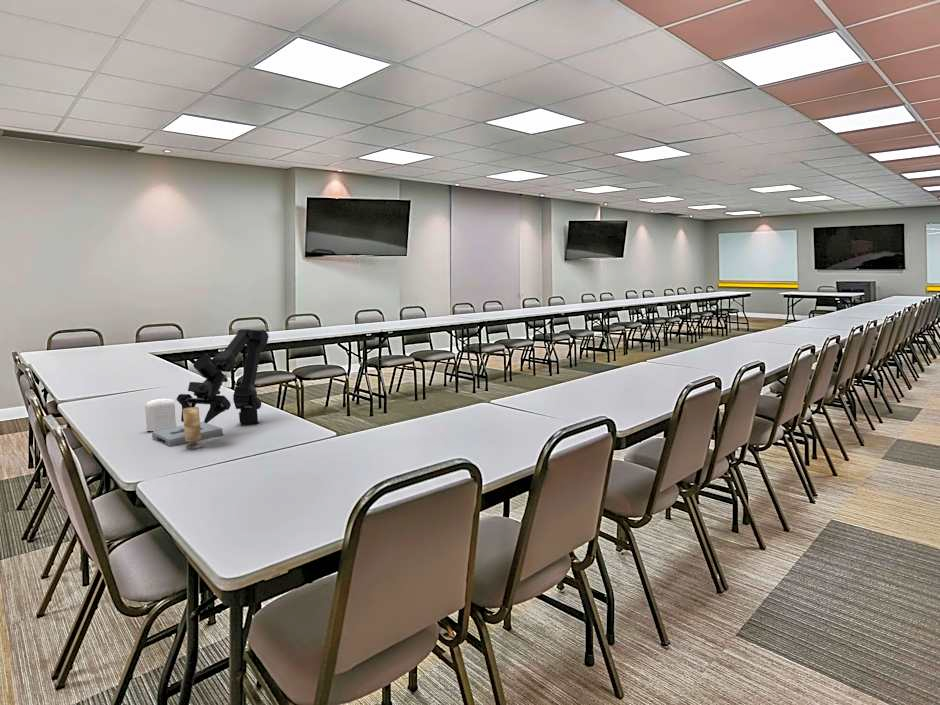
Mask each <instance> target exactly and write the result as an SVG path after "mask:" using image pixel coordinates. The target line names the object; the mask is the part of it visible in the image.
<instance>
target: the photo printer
mask: <svg viewBox="0 0 940 705" xmlns="http://www.w3.org/2000/svg"><path fill="white" fill-rule="evenodd" d="M144 407H145V409H144V410H145V421H146V422H145V423H146V431H153V432H154V431H159V430H164V429H169V428H174V427H177V419H176V418H177V417H176V406H175V402H174V400H173V399H171V398H157V399H152V400H149V401H147V402H146V403H145V406H144Z"/></svg>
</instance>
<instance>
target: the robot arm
mask: <svg viewBox="0 0 940 705" xmlns="http://www.w3.org/2000/svg"><path fill="white" fill-rule="evenodd" d="M269 337H270V336H269V333H268V332H267V330H265V329H249V328H248V329H247V328H241V329H238V330H237V334H236V335H235V336H234V338H233V339H232V340H231V342H229V344H228V345H227V346H226V348H225V349H223V351H221V352H218V353H216V355H215V356H213V358H212V357H211V356H210V355H209V354H202V356H200V357H198V358H197V359H196V360H194V361H193V368H194V369H195V370H196V371H197V373H198V374H200V376H201V377H202V378H203V379H205V380H203V382H199V381H189V384H188V388H187V391H188V392H191V393H193V395H194V396H195V397H193V396H192V395H191V394H189V393H179V394H178V396H177V397H176V399H175V400H176V401H177V402H178V403H179V404H180V405H181V416H180V417H181V420H180V421H181V422H182V423H184V419H183V409H184V408H189V407H196V406H197V404H198V405H209V409H208V410H207V414H206V415H205V417H204V421H203V422H204V423H208V424H209V422H210V421H212V420H213V419H214V418H215V417H217V416H218V415H220V414H221V413H224V412H226V411H229V410H230V409H231V408H230V407H231V402H230V400H228V398H227V397H226V396H225V395H221V391H220V389H221V387H222V384H223V383H228V382H229V380H228V378H227V374H224V373H230V372H232V371H233V369H234V367H235V365H236V364H237V360H236V359H237V357H238V356H239V354H240V353H241V352H242V351H243V349H244V348H245V346H246V348H247V354H246V358H245V359H246V360H245V362H244V363H245V364H244V368H243V373H242V379H241V383H240V384H239V385H236V386H235V387H234V392H233V395H232V396H233V398H232V401H233V404H234V407H235V409H236V410H240V411H238V417H239V418H238V419H239V420H238V422H239V424H241V426H247V425H248V426H249V425H258V424H259V418H258V410H260V408H261V407H262V401H261V400H260V399H259V397H258V392H257V388H256V386H255V384H256V383H255V382H256V378H257V373H258V369H259V362H260V358H261V354H262V353H261V352H262V351H263V350H264V349H265V348H266V346H267V345H268V344H267V343H268V340H269Z"/></svg>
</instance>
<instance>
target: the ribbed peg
mask: <svg viewBox="0 0 940 705" xmlns="http://www.w3.org/2000/svg"><path fill="white" fill-rule="evenodd" d="M183 419H184V422H183V426H184V431H185V441H190V442H189V443H187V444H186V445H185V450H187V449H195V450H199V449H201V448H202V443H201V442H198V441H201V440H200V439H201V432H200V422H201V420H200V410H199V407H197V406H195V407H189V408H184V409H183ZM197 440H198V441H197ZM198 448H199V449H198Z"/></svg>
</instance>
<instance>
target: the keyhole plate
mask: <svg viewBox="0 0 940 705" xmlns="http://www.w3.org/2000/svg"><path fill="white" fill-rule="evenodd" d="M200 432H201V439H200V440H199V441H201V440H206V439H211V438H215V437H220V436H223V434H224V432H223V428H222V427H219V426H216V425H214V424H210V423H209V422H208V423H204V421H200ZM151 437H152V438H154V439H153V440H155V439H156V440H155V441H159V440H158V439H161V440H163V441H165V445H166V444H167V445H166V446H168V445H169V446H168V447H170V446H171V447H174V446H173V445H175V446H178V445H177V444H180V445H183V444H182V443H184V444H189V443H190V441H185V431H184V425H180V426H176V427H174V428H169V429H164V430H159V431H153V432H151ZM188 442H189V443H188Z"/></svg>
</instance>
